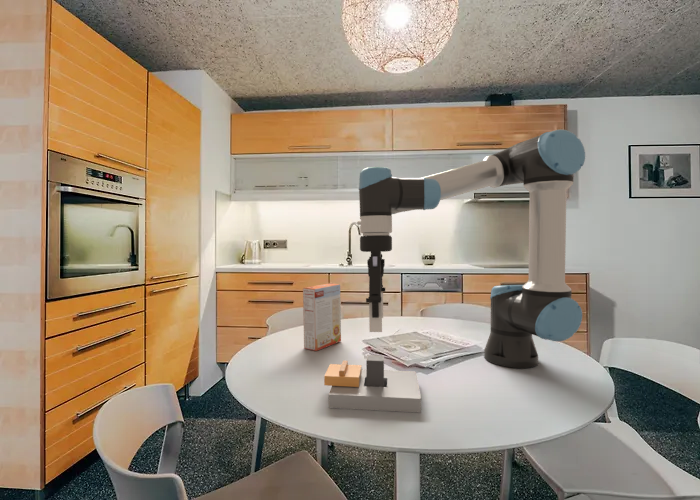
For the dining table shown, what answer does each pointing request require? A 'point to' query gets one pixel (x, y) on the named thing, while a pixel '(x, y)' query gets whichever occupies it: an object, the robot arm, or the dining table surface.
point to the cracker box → (321, 316)
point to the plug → (375, 370)
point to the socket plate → (380, 394)
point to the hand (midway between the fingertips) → (376, 324)
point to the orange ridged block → (343, 375)
